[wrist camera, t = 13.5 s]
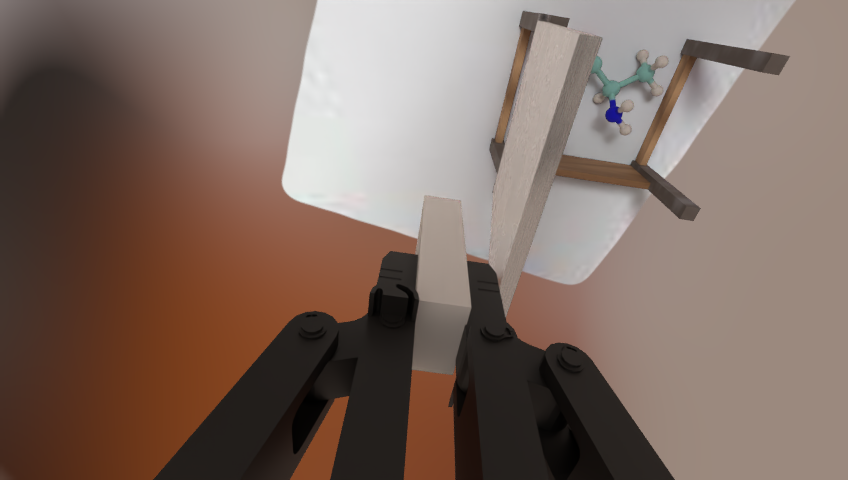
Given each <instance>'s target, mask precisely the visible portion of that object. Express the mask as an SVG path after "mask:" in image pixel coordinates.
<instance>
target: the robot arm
mask: <svg viewBox="0 0 848 480" xmlns="http://www.w3.org/2000/svg"><path fill="white" fill-rule="evenodd" d="M455 365H456V380H455V383H454V387H453V390H452V394H451V398H450V402H449V407H452V405H454V406H453V408H454V442H455V443H454V444H455V479H456V480H675V479H674V478H673V477H672V475H671V474H670V472H669V471H668V469H667V468H666V467H665V465H664V464H663V462H662V461H661V459H660V458H659V456H658V455H657V454H656V452H655V451H654V449H653V448H652V446H651V445H650V443H649V442H648V440H647V439H646V438H645V436H644V435H643V433H642V432H641V430H640V429H639V427H638V426H637V425H636V423H635V422H634V420H633V419H632V417H631V416H630V415H629V413H628V412H627V410H626V409H625V407H624V406H623V404H622V403H621V402H620V400H619V399H618V397H617V396H616V394H615V393H614V392H613V390H612V389H611V387H610V386H609V384H608V383H607V381H606V380H605V378H604V377H603V376H602V374H601V373H600V371H599V370H598V369H597V367H596V366H595V364H594V363H593V361H592V360H591V359H590V358H589V357H588V355H587V354H586V353H584V352H583V351H582V350H580V349H579V348H577V347H575V346H572V345H569V344H566V343H555V344H551V345H550V346H549V347H548V348H547V349H546V351H544V350H542V349H539V348H537V347H534V346H531V345H529V344H527V343H525V342H523V341H521V340H520V339H518V338H517V335H516V333H515V331H514V329H513V328H512V327H511V326H510V325H509V324H508V323H507V322H506V318H505V313H504V308H503V303H502V298H501V293H500V288H499V285H498V278H497V274H496V272H495V271H494V270H493V268H492V267H491V266H490V265H489V264H485V263H478V262H471V261H467V258H466V248H465V238H464V228H463V218H462V208H461V201H459V200H453V199H446V198H439V197H432V196H426V195H425V197H424V203H423V209H422V216H421V222H420V228H419V234H418V241H417V247H416V255H414V254H407V253H400V252H393V251H390V252H389V253H388V254H387V255H386V256H385V257H384V258H383V260H382V264H381V269H380V273H379V278H378V282H377V285H376V286H374V287H373V288H372V290H371V292H370V297H369V308H368V313H367V314H366V315H365V316H363V317H362V318H360V319H357V320H355V321H350V322H343V323H337V321H336V320H335V319H334V318H333V317H332V316H330V315H328V314H326V313H323V312H317V311H313V312H305V313H302V314H300V315H297V316H296V317H294V318H293V319H292V320H291V321H290V322H289V323H288V324H287V325H286V326H285V327H284V328H283V330H282V331H281V332H280V333H279V334H278V335H277V337H276V338H275V339H274V340H273V341H272V342H271V344H270V345H269V346H268V347H267V348H266V349H265V351H264V352H263V353H262V354H261V355H260V356H259V357H258V359H257V360H256V361H255V362H254V363H253V364H252V366H251V367H250V368H249V369H248V370H247V371H246V373H245V374H244V375H243V376H242V377H241V378H240V380H239V381H238V382H237V383H236V384H235V385H234V386H233V388H232V389H231V390H230V391H229V392H228V394H227V395H226V396H225V397H224V398H223V399H222V400H221V402H220V403H219V404H218V405H217V406H216V407H215V409H214V410H213V411H212V412H211V413H210V414H209V416H208V417H207V418H206V419H205V420H204V421H203V423H202V424H201V425H200V426H199V427H198V429H196V431H195V432H194V433H193V434H192V435H191V436H190V438H189V439H188V440H187V441H186V442H185V443H184V445H183V446H182V447H181V448H180V449H179V450H178V452H177V453H176V454H175V455H174V456H173V457H172V459H171V460H170V461H169V462H168V463H167V464H166V465H165V467H164V468H163V469H162V470H161V471H160V472H159V474H158V475H157V476H156V477H155V478H154V479H153V480H290V478H291V476H292V475H293V473H294V471H295V469H296V468H297V466H298V464H299V462H300V461H301V458H302V457H303V455H304V453H305V452H306V450H307V448H308V446H309V444H310V443H311V441H312V439H313V437H314V436H315V434H316V432H317V430H318V429H319V427H320V425H321V423H322V421H323V420H324V418H325V416H326V414H327V413H328V411H329V409H330V407H331V405H332V404H333V402H334V399H335V398H340V397H346V396H349V400H348V405H347V409H346V414H345V417H344V422H343V426H342V431H341V435H340V439H339V444H338V448H337V452H336V457H335V461H334V466H333V470H332V474H331V479H330V480H404V466H405V453H406V440H407V426H408V414H409V400H410V387H411V374H412V370H420V371H427V372H434V373H442V374H450V375H453V373H454V369H455Z"/></svg>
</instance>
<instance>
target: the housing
mask: <svg viewBox="0 0 848 480" xmlns="http://www.w3.org/2000/svg"><path fill="white" fill-rule="evenodd" d="M538 16H539V13H532V12H525V11H523V12H522V17H521V21H520V25H519V26H520V27H522V30H521V34H520V38H519V42H518V46H517V50H516V54H515V58H514V62H513V66H512V70H511V74H510V79H509V83H508V87H507V91H506V95H505V99H504V103H503V107H502V111H501V115H500V119H499V123H498V128H497V132H496V136H495V139H493V138H492V141H491V145H490V153H491V156H492V159H493V162H494V165H495V169H496V172H497V173H498V169H499V165H500V161H501V158H502V154H503V150H504V146H505V143H504V140H503V138H504V134H505V131H506V127H507V123H508V119H509V115H510V111H511V107H512V103H513V99H514V96H515V92H516V88H517V84H518V80H519V76H520V72H521V68H522V64H523V61H524V57H525V53H526V49H527V45H528V41H529V37H530V33H531V31H535V27H536V24H537V20H538ZM569 19H570V18H564V17H558V16H552V15H549V17H548V21H547V22H549V23H553V24H556V25H560V26H563V27H567V26H568V22H569ZM681 54H683V56H682V58H681V61H680V63H679V65H678V67H677V69H676V72H675V74H674V76H673V78H672V80H671V83H670V85H669V87H668V89H667V91H666V94H665V96H664V98H663V100H662V102H661V105H660V107H659V109H658V111H657V113H656V116H655V118H654V120H653V122H652V125H651V127H650V129H649V131H648V133H647V136H646V138H645V140H644V142H643V144H642V147H641V149H640V151H639V153H638V155H637V158H636V160H635V161H633V160H632V163H631V165H625V164H619V163H612V162H606V161H599V160H593V159H587V158H580V157H574V156H567V155H562V157H561V160H560V162H559V165H558V168H557V171H556V174H555V175H558V176H564V177H571V178H577V179H584V180H590V181H597V182H603V183H610V184H616V185H623V186H629V187H636V188H642V189H648V190H649V191H650V192H651V193H652V194H653V195H654V196H656V197H657V198H658V199H659V200H660V201H661V202H662V203H663V204H664V205H665V206H666V207H667V208H669V209H670V210H671V211H672V212H673V213H674V214H675V215H676V216H677V217H678V218H679V219H684V220H690V221H694V219H695V217H696V215H697V214H698V212H699V210H700V208H699V207H698V206H697V205H696V204H694V203H693V202H692V201H691V200H690V199H688V198H687V197H686V196H685V195H683V194H682V193H681V192H680V191H679V190H677V189H676V188H675V187H674V186H672V185H671V184H670V183H669V182H667V181H666V180H665V179H664V178H662V177H661V176H660V175H659V174H658V173H656V172H655V171H654V170H653V169H651V168H650V167H649V166H648V165H647V162H648V160H649V158H650V156H651V154H652V152H653V150H654V148H655V145H656V143H657V141H658V139H659V137H660V135H661V133H662V131H663V128H664V126H665V124H666V122H667V120H668V118H669V116H670V114H671V112H672V109H673V107H674V105H675V103H676V101H677V99H678V97H679V95H680V92H681V90H682V88H683V86H684V84H685V82H686V80H687V78H688V76H689V73H690V71H691V69H692V67H693V65H694V63H695V61H696V59H697V58H702V59H706V60H710V61H715V62H719V63H723V64H728V65H732V66H737V67H741V68H745V69H750V70H754V71H758V72H763V73H770V74H775V75H779V74H780V72H781V71H782V69H783V67H784V65H785V64H786V62H787V60H788V59H789V56H785V55H780V54H774V53H768V52H761V51H756V50H750V49H744V48H738V47H731V46H725V45H719V44H713V43H707V42H701V41H695V40H689V39H687V40H686V42H685V45H684V47H683V49H682V51H681Z"/></svg>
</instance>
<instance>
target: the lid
mask: <svg viewBox="0 0 848 480" xmlns="http://www.w3.org/2000/svg"><path fill="white" fill-rule="evenodd" d="M548 17H549V15H547V14H541V13H539V16H538V20H537V24H536V27H535V31H534V35H533V39H532V43H531V47H530V50H529V54H528V58H527V62H526V66H525V70H524V73H523V77H522V81H521V85H520V89H519V93H518V96H517V100H516V104H515V108H514V112H513V116H512V119H511V123H510V127H509V131H508V135H507V139H506V142H505V146H504V150H503V154H502V158H501V161H500V165H499V169H498V173H497V177H496V181H495V184H494V188H493V192H492V193H493V204H492V219H491V234H490V249H489V265H490V266H491V267H492V268H493V270H494V271H495V272H496V274H497V278H498V285H499V288H500V293H501V298H502V303H503V308H504V313H505V318H506V316H507V313H508V310H509V307H510V304H511V301H512V298H513V295H514V293H515V290H516V287H517V284H518V281H519V278H520V275H521V272H522V269H523V267H524V264H525V261H526V258H527V255H528V252H529V249H530V246H531V243H532V241H533V238H534V235H535V232H536V229H537V226H538V223H539V220H540V217H541V215H542V212H543V209H544V206H545V203H546V200H547V197H548V194H549V191H550V188H551V186H552V183H553V180H554V177H555V174H556V171H557V168H558V165H559V162H560V160H561V157H562V154H563V151H564V148H565V145H566V142H567V139H568V136H569V134H570V131H571V128H572V125H573V122H574V119H575V116H576V113H577V110H578V108H579V105H580V102H581V99H582V96H583V93H584V90H585V87H586V84H587V82H588V79H589V76H590V73H591V70H592V67H593V64H594V61H595V58H596V56H597V53H598V50H599V47H600V44H601V41H602V37H598V36H595V35H591V34H588V33H584V32H581V31H577V30H574V29H570V28H567V27H563V26H560V25H556V24H553V23H549V22H547V21H548Z"/></svg>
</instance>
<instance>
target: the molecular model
mask: <svg viewBox="0 0 848 480" xmlns="http://www.w3.org/2000/svg"><path fill="white" fill-rule="evenodd" d="M648 56H649V53H648V51H647V50H641V51H639V52H638V54H637V60H638V61H640V63H641V67H640V68H639V69H638V70H637V72H636V75H634V76H632V77H630V78H628V79H626V80H624V81H621V82H619V83H618V82H617V81H609V80H608V79H607V77H606V76H605V75H604V73H603V72H602V71H601V67H602V60H601V58H600V57H598V56H596V58H595V61H594V64H593V67H592V70H591V73H590V74H592V73H596V75H597V76H598V77H599V79H600V80H601V81H602V83H603V84H604V86H603V89H602V91H603V92H602V93H597V94H596V95H595V96H594V98H593V100H594V102H595V103H597V104H599V103H601V102H603V100H604V97H609V102H610V108H609V109H608V110H607V111H606V114H605V117H606V119H607V120H608V121H609V122H616V123H617V124H618V125H619V127H620V133H621V134H622V135H628V134H629V133H630V132H631V130H632V128H631V126H630V125H628V124H625V123H624V122H623V120H622V119H621V117H622V114H623V112H630V111H631V110H632V109H633V107H634V103H633V102H632V101H631V100H626V101H624V102H623V103H622V104H621V107H620V108H619V107H617V106H616V101H615V96H616V95H617V94H618V93H619V91H620V88H621V87H623V86H626V85H628V84H630V83H632V82H634V81H637V80H639V81H640V82H647V83H648V84H649V86H650V87H651V88H652V89H651V94H652V95H653V96H659V95H661V94H662V92H663V87H662V86H661V85H657V84H656V83H655V81H654V80H653V76H654V74H655V70H656V69H657V68H663V67H665V66H666V65H667V64H668V62H669V60H668V58H667V56H659V57H658V58H657V59H656V61H655V63H654V64H653V65H652V66H651V65H647V60H646V59H647V58H648Z"/></svg>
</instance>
